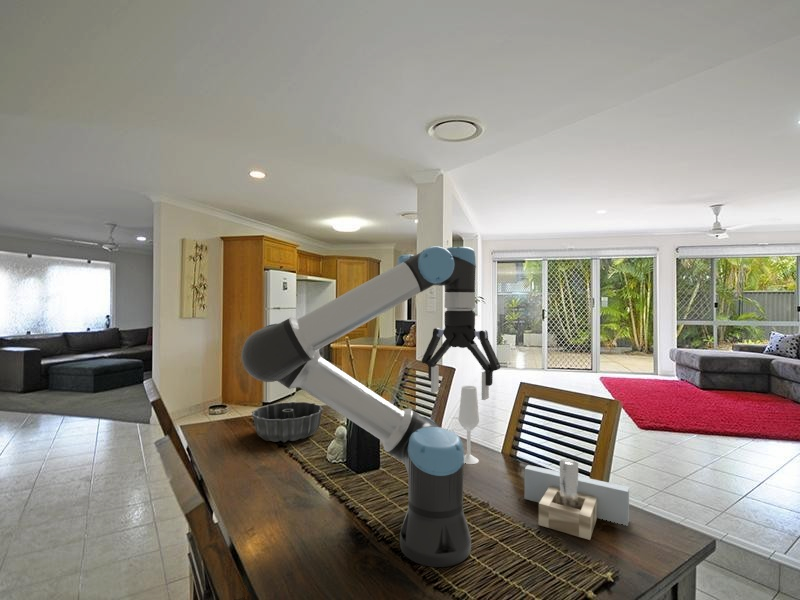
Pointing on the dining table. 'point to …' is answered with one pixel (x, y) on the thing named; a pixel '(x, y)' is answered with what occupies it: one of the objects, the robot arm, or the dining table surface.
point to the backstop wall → (608, 494)
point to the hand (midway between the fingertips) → (459, 395)
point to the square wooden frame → (568, 514)
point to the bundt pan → (287, 421)
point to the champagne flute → (469, 417)
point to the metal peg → (569, 483)
